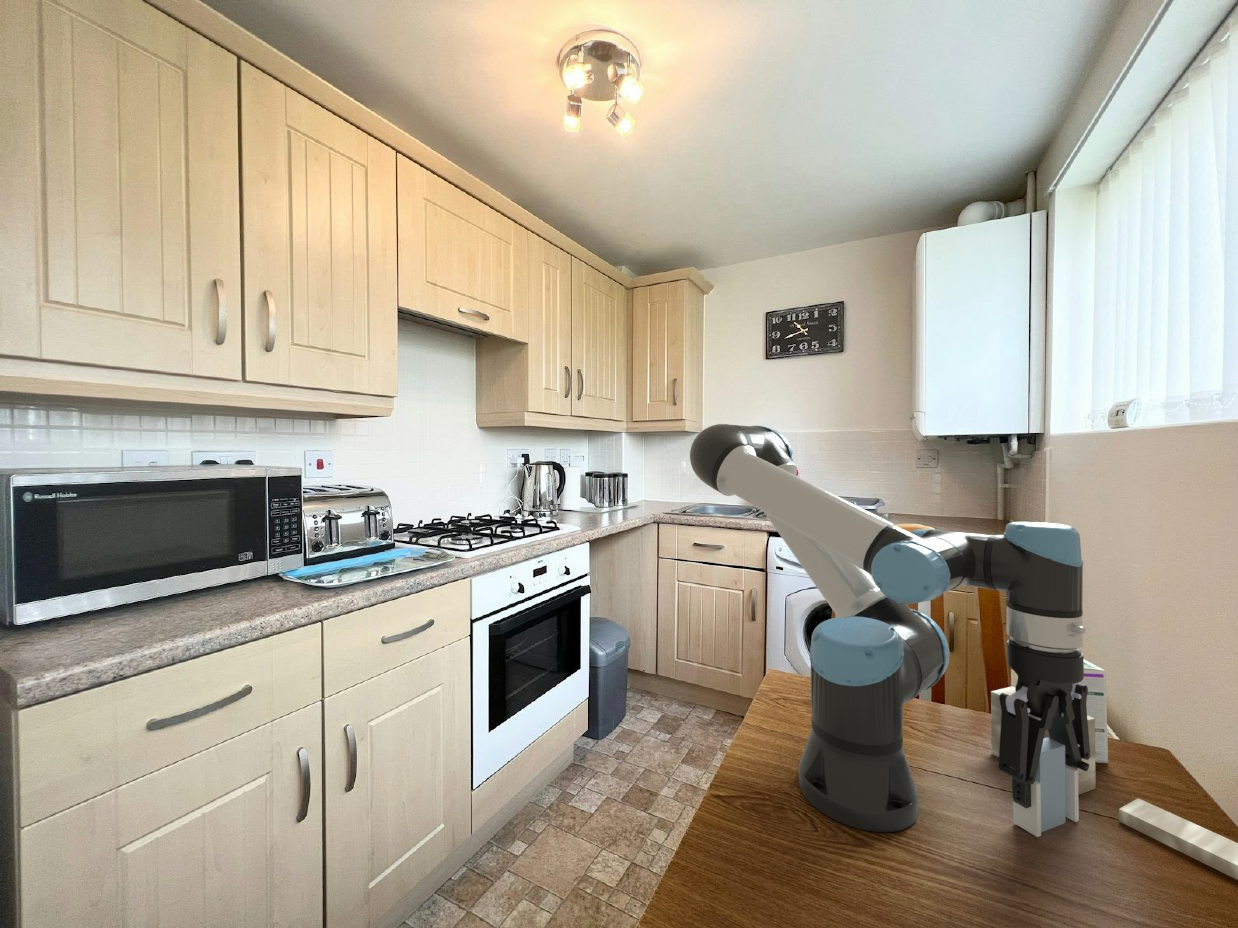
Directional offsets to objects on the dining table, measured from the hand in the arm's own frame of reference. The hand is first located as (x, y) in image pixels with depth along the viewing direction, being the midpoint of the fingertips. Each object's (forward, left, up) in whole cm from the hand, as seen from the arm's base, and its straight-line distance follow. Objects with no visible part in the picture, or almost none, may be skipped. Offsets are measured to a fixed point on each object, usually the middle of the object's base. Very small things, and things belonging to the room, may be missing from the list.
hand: (1046, 821), depth 64 cm
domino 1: (0, +17, 0) cm, 17 cm away
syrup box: (+10, +22, -1) cm, 24 cm away
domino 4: (+10, +6, 0) cm, 12 cm away
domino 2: (0, 0, 0) cm, 0 cm away
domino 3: (+6, +11, 0) cm, 12 cm away
